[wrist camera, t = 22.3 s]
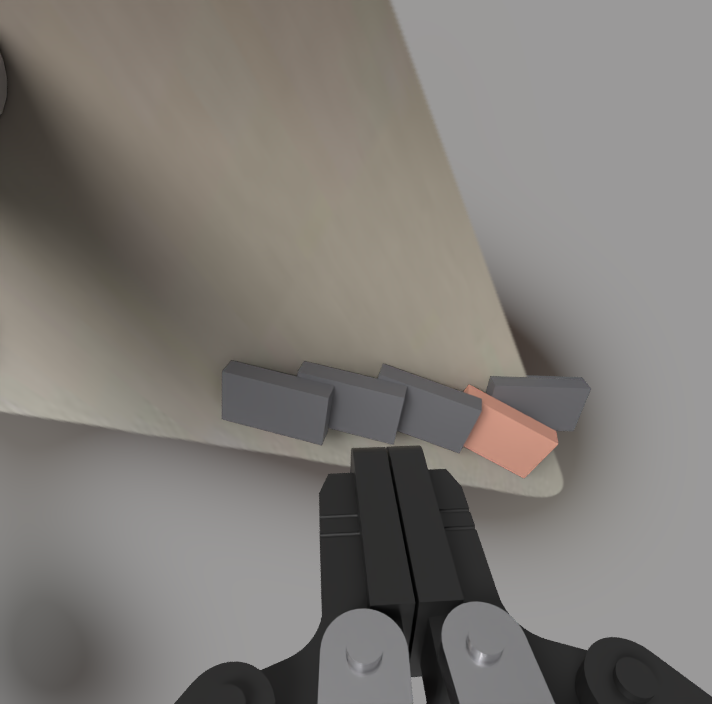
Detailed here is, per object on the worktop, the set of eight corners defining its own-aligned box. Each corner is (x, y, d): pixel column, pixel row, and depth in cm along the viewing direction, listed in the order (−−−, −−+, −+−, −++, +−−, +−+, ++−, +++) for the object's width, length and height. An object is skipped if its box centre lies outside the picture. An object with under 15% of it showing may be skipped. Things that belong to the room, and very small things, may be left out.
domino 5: (438, 433, 47) (524, 478, 48) (468, 395, 45) (558, 444, 45) (440, 421, 49) (523, 465, 49) (468, 384, 46) (556, 431, 46)
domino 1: (221, 419, 45) (321, 445, 44) (222, 371, 42) (328, 398, 41) (230, 407, 46) (327, 432, 45) (231, 360, 44) (334, 385, 43)
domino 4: (482, 429, 48) (573, 431, 49) (495, 385, 46) (591, 388, 47) (477, 416, 50) (565, 419, 51) (489, 373, 47) (582, 377, 48)
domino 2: (293, 418, 45) (393, 444, 44) (297, 371, 43) (404, 398, 42) (299, 407, 47) (396, 431, 46) (304, 360, 44) (407, 386, 43)
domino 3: (362, 418, 46) (459, 453, 46) (379, 374, 43) (481, 411, 43) (366, 406, 47) (460, 440, 47) (382, 363, 45) (481, 398, 44)
